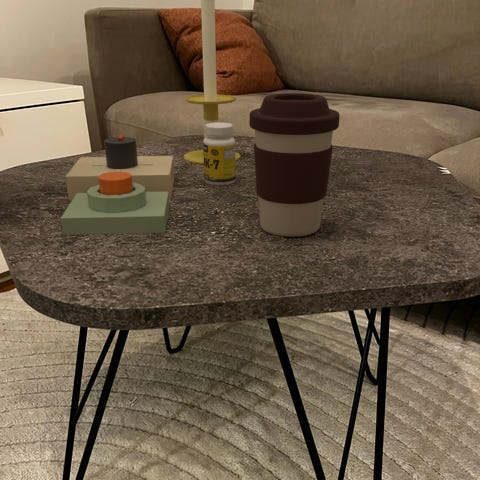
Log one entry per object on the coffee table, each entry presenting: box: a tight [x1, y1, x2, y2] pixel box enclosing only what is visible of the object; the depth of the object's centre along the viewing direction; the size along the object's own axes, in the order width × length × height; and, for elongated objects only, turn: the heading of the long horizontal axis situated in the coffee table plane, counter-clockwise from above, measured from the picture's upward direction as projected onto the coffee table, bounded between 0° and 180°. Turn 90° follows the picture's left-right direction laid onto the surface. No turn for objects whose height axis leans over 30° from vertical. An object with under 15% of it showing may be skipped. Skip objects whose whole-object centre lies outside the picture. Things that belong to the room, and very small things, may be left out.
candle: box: [183, 0, 241, 165], centre depth 97 cm, size 10×10×27 cm
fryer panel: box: [65, 155, 175, 202], centre depth 86 cm, size 14×11×4 cm
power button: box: [98, 172, 133, 195], centre depth 72 cm, size 4×4×2 cm
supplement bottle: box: [202, 122, 236, 186], centre depth 88 cm, size 5×5×8 cm
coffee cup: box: [249, 92, 341, 238], centre depth 68 cm, size 10×10×15 cm
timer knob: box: [103, 134, 138, 169], centre depth 84 cm, size 4×4×4 cm
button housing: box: [60, 183, 171, 236], centre depth 73 cm, size 12×10×4 cm
